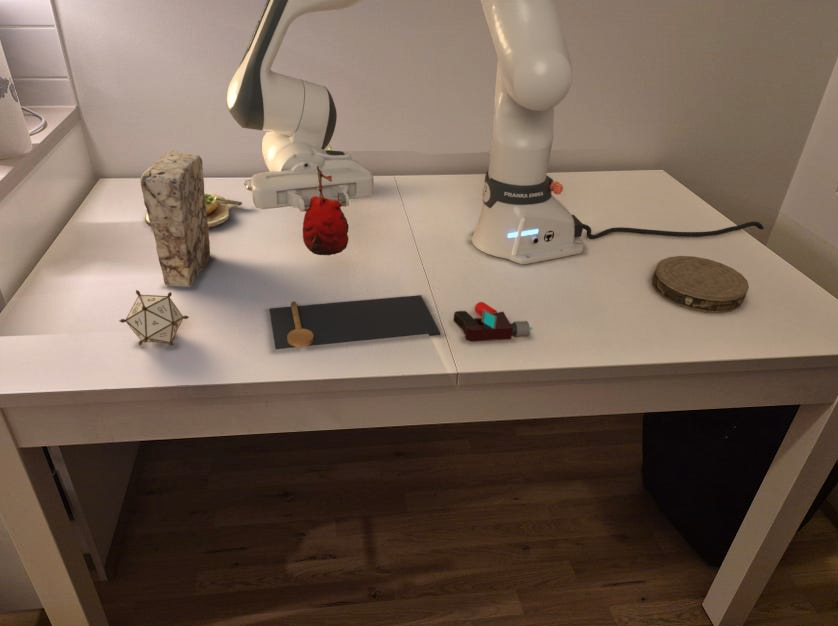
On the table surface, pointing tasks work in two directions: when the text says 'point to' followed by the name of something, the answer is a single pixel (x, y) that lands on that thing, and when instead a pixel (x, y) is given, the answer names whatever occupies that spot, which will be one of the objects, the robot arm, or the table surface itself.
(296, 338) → the spoon
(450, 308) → the table surface
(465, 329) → the toy gun
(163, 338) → the game die
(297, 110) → the robot arm
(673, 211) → the table surface
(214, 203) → the salad plate
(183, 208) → the stone block
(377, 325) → the placemat
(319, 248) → the red clay folk toy
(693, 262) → the wood slice
